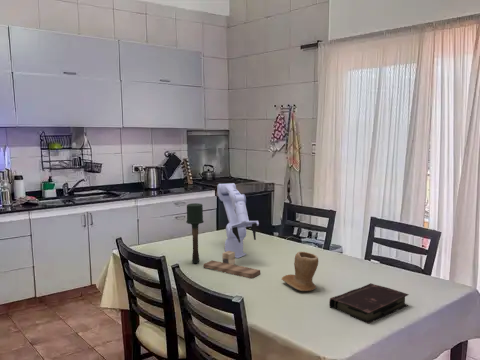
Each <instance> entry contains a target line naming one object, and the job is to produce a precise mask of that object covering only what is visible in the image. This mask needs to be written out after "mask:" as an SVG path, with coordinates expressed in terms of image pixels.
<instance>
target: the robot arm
mask: <svg viewBox="0 0 480 360" xmlns="http://www.w3.org/2000/svg"><path fill="white" fill-rule="evenodd" d="M216 188H217V189H216V190H217V195H218V199H219V200H220V201H221V202H222V203H223V206H224V210H225V213H226V216H227V220H228V223H227V224H226V226H225V232H226V233H225V234H226V239H225V242H224V252H227V251H232V252H235V259H239V258H241V257H244V256H246V255H247V253H246V252H244V240H245V238H246V237H247V228H249V227H251V232H252V235H253V240H254V241H256V233H257V228H258V226H259V225H260V223H259V220H250V219H249V216H248V215H249V214H248V210H247V205H246V204H247V198H246V195H245V193H240V191H239V190H238V189H237V185H236V184H235V183H234V182H232V183H218V184H217V187H216Z"/></svg>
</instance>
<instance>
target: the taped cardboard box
mask: <svg viewBox="0 0 480 360" xmlns="http://www.w3.org/2000/svg"><path fill="white" fill-rule="evenodd" d="M222 262H223V263H228V264H233V265H234V264H235V265H236V257H235V252H232V251H227V252H225V251H224V252H222Z"/></svg>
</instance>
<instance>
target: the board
mask: <svg viewBox="0 0 480 360" xmlns="http://www.w3.org/2000/svg"><path fill="white" fill-rule="evenodd" d="M202 265H203V266H202V267H205V268H204V269H206V268H210V269H214V270H213V271H215V270H218V271H217V272H219V271H222V272H221V273H224V272H226V273H225V274H229V273H231V274H230V275H233V274H234V275H235V276H238V275H239V277H242V276H243V277H242V278H247V277H248V278H249V279H252V278H253V279H254V278H256V277H258V276H260V275H261V269H257V268H251V267H247V266H241V265H237V264H235V265H233V264H228V263H223V261H219V260H209V261H208V262H207V261H206V262H205V263H203V264H202ZM210 269H209V270H210ZM248 278H247V279H248Z"/></svg>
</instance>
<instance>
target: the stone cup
mask: <svg viewBox="0 0 480 360" xmlns="http://www.w3.org/2000/svg"><path fill="white" fill-rule="evenodd" d="M293 261H294V263H293V264H294V274H285V275H284V276H282V277H281V280H282V281H283V282H284V283H285V284H288V286H290V287H291V288H294V289H296V291H297V290H298V291H301V292H309V291H313V290H315V289H316V288H317V286H316V285H315V284H314V281H313V278H314V275H315V273H316V272H317V269H318V265H319V257H318V256H317V255H316V254H314V253H311V252H307V251H298V252H297V253H296V254H295V257H294V260H293Z"/></svg>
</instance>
